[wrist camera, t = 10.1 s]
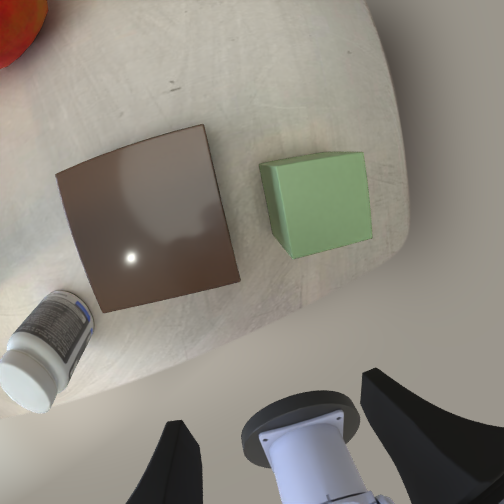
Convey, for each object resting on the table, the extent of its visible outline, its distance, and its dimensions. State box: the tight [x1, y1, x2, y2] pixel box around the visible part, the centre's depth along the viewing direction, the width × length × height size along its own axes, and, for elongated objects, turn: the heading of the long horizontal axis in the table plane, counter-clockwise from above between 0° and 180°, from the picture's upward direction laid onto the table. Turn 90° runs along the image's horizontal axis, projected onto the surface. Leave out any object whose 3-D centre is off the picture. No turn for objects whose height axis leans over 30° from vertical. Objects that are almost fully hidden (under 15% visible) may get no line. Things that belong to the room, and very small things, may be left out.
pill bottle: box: [0, 291, 94, 413], centre depth 14 cm, size 5×5×8 cm
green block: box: [259, 152, 372, 259], centre depth 16 cm, size 5×5×5 cm
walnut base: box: [55, 124, 241, 313], centre depth 15 cm, size 8×8×4 cm
